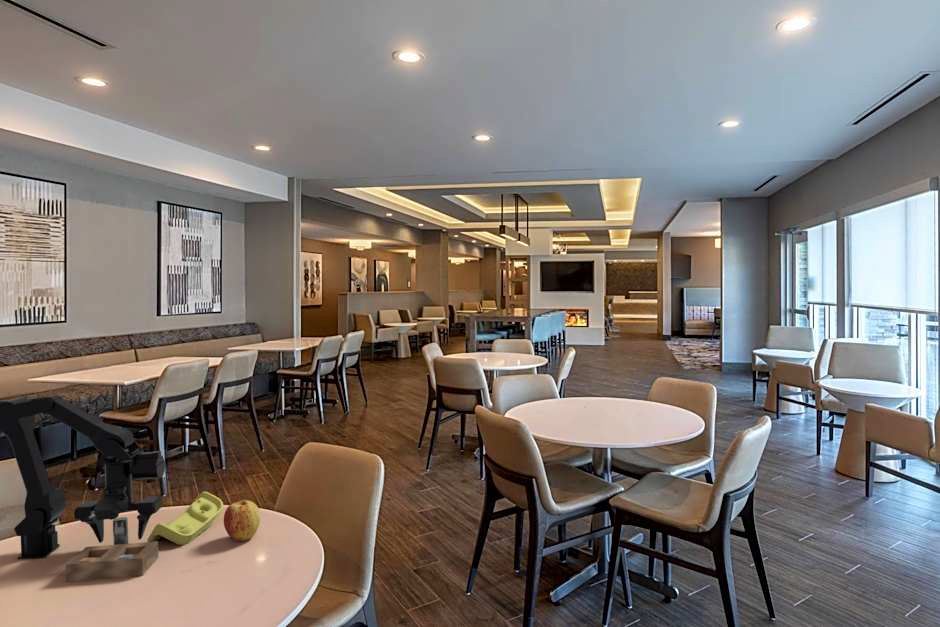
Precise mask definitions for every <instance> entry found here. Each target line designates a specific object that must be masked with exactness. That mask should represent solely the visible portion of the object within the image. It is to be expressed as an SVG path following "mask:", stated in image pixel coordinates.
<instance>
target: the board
mask: <svg viewBox="0 0 940 627" xmlns="http://www.w3.org/2000/svg"><path fill="white" fill-rule="evenodd" d="M157 559H159V541H157V540H156V541H154V542H149V541H146V542H144V541H143V542H133V543H132V542H131V543H128V544H118V545H114V544H108V545H107V544H106V545H95V546H85V548H83V549H82V550H80V552H78V553H77V554H76V555H75V556H74V557H73V558H71V559H70V560H69V561H68V562H66V564H64V565H65V567H64V568H65V569H64V570H65V583H72V582H82V581H84V582H85V581H95V580H96V581H97V580H105V579H106V580H108V579H119V578H130V577H140V576H141V577H142V576H144V575H145V573H146V572H148V570H149V569H150V568H151V567H152V566H153V564H154V563H155V562H156V561H157Z"/></svg>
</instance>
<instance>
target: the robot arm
mask: <svg viewBox="0 0 940 627" xmlns="http://www.w3.org/2000/svg"><path fill="white" fill-rule="evenodd" d="M44 413H45V414H46V415H49V416H51V417H52V418H54V419H56V421H57V420H58V421H59V422H61V423H63V425H65V426H68V427H69V428H71V429H73V430H74V431H76V432H78V433H80V434H81V435H83V436H85V437H86V438H87V439H88V440H90V441H91V443H92V445H93V446H94V448H96V449H97V451H99V452H100V453H102V455H101V457H100V458H99V459H98V460H97V461H96V462H95V463H94V465H95V466H104V479H105V481H104V482H105V483H104V484H105V486H104V488H102V496H101V498H100V499H97V500H85V501H84V502H83V503H82V504H80V505H78V506H77V507H76V508H75V510H74V512H73V514H74V515H73V516H74V520H79V521H80V522H81V523H85V524H87V525H89V527H90V528H91V530H92V531H93V533H94V535H95V538H96V539H97V540H98V543H99V544H101V543H103V542H104V537H105V536H104V535H105V533H104V532H105V526H104V525H105V524H104V523H105V520H109V521H110V520H112V521H113V520H114V519H116V518H119V515H120V514H121V513H126V512H127V511H128V512H129V511H137V513H138V515H137V516H136V519H137V521H138V527H137V536H138V538H137V539H138V541H139V540H142V538H143V536H144V533H145V531H146V528H147V526H148V523H149V521H150V519H151V517H152V515H154V514H156V513H157V512H158V511H159V510H160V509H162V507H163V506H164V504H163V503H164V500H163V499H162V497H161V496H160V495H157V496H145V497H144V498H143V499H142V500H140V501H135V497H136V496H135V495H133V485H135V480H150V479H162V477H163V476H164V474H165V470H166V461H165V458H164V456H163V455H162V451H161V450H154V451H148V452H147V451H145V452H144V449H143V448H142V447H141V446H140V444H139V443H138V442H137V441H136V440H135V438H134V434H133V432H131V431H130V430H128V429H126V428H123V427H122V426H118V425H114V424H110V423H106V422H103V421H101V420H99V419H97V418H96V417H95V416H93V415H91V414H89V413H88V412H86V411H84V410H82V409H81V408H79V407H78V406H76V405H74V404H72V403H71V402H69V401H67V400H65V399H64V398H63V397H62V396H61V395H58V394H50V395H47V396H42V397H41V396H40V397H35V398H29V399H28V398H27V397H24V396H23V397H22V396H21V397H20V396H19V397H14V398H10V399H7V400H4V401H0V432H1V433H2V434H4V435H5V436H6V437H7V438H8V440H9V442H10V446H11V449H12V452H13V455H14V458H15V461H16V464H17V466H18V469H19V472H20V477H21V479H22V481H23V485H24V488H25V491H26V495H25V500H24V505H23V506H24V507H23V509H24V516H25V517H24V518H23V519H22V520H21V521H20V522H19V523H18V524H17V525H15V527H14V528H13V529H14V532H15V534H16V536H17V537H20V552H21V553H20V554H19V555H18V556H17V557H16V558H17V560H25V559H26V560H27V559H36V558H37V559H39V558H45V557H47V556H49V555H50V554H51V553H53V552H54V551H56V550H57V549H58V548H60V545H61V544H60V543H59V540H58V539H59V538H58V530H56V525H55V523H57V522H58V521H59V518H60V516H61V515H62V514H63V513H64V512H65V510H66V507H67V505H66V503H67V502H68V499H67V498H66V496H65V491H64V488H63V486H59V487H58V488H56V487H55V486H54V485H52V483H51V482H50V479H49V476H48V473H47V469H46V466H45V463H44V460H43V458H42V454H41V452H40V449H39V445H38V442H37V440H36V439H37V438H36V436H35V433H34V432H35V431H34V428H35V427H34V426H35V422H36V415H39V414H44ZM127 451H128V452H127ZM133 478H134V479H135V480H134V479H133ZM134 501H135V502H134Z"/></svg>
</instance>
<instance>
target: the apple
mask: <svg viewBox="0 0 940 627" xmlns="http://www.w3.org/2000/svg"><path fill="white" fill-rule="evenodd" d="M223 515H224V516H223V527H224V529H225V532H226V533H227V535H228V536H229V538H230V539H231V540H232V541H234V542H245V541H248V540H249V539H251V538H253V537H254V536H255V535H256V533H257V531H258V530H259V527H260V523H261V511H260V509H259V506H258V505H257V504H256V503H255V502H253V501H251V500H247V499H245V500H238V501H235V502H232V503H230V504H229V505H228V506H227V508H226V509H225V512H224V514H223Z"/></svg>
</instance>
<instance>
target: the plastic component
mask: <svg viewBox="0 0 940 627" xmlns="http://www.w3.org/2000/svg"><path fill="white" fill-rule="evenodd" d="M223 508H224V502H223V501H222V500H221V498H219V497H217V496H216V495H214V494H212V493H210V492H208V491H202V492H201V493H199V494H198V496H197V497H196V498H195V499H194V501H192V503H191V504H190V505H189V506H188V508H186V509H185V511H184V512H182V513H181V514H180V515H178V516H177V517H176V518H175V519H173V520H171V521H170V522H169V523H168V524H165V523H163V522H159V523H157V524H156V525H155V526H154V528H153V530H152V531H151V533H150V534H149V536H148V538H147V542H155V541H157V540H159V539H160V538H161V537H163V538H165V539H166V540H169V541H171V542H172V543H174V544H176V545H181V546H183V545H187V544H189V543H191V542H192V541H193V540H195V539H196V538H197V537H198V536H200V535H201V534H202V533H203V532H204V531H205V530H207V529H208V528H209V527H210V526H211V525H212V523H213V521H214V520H215V519H217V518H218V516H220V514H221V512H222V511H223Z"/></svg>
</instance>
